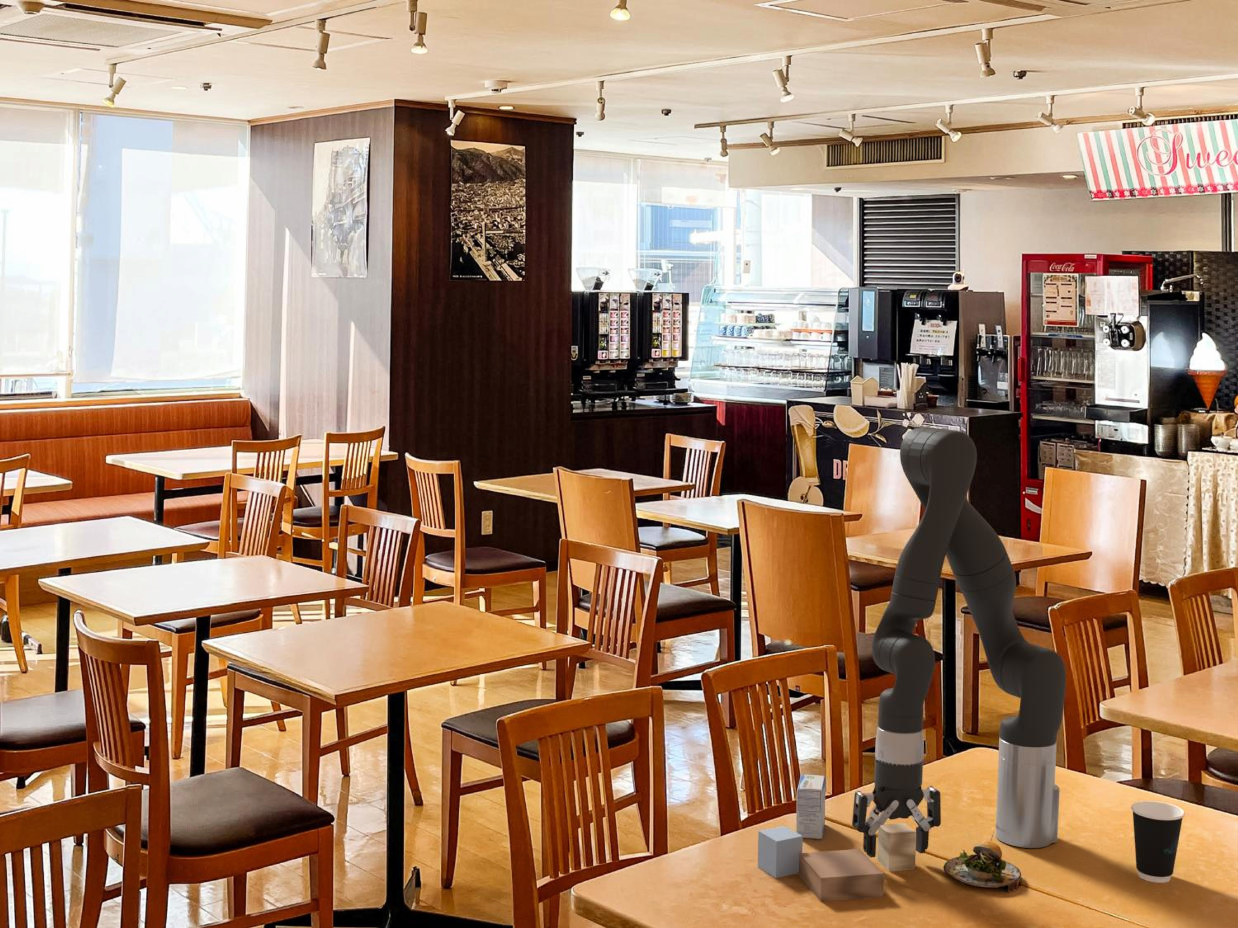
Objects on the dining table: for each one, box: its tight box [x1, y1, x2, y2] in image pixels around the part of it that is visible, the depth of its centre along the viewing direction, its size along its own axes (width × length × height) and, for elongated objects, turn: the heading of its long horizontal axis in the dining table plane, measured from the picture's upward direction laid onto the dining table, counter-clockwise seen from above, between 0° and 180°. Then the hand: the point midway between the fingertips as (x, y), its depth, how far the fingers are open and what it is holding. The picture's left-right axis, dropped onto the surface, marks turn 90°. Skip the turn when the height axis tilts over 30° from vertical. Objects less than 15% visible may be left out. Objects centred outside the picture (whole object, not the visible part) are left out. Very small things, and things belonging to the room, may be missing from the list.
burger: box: [943, 830, 1023, 893], centre depth 219 cm, size 12×12×8 cm
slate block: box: [757, 825, 804, 879], centre depth 222 cm, size 5×5×6 cm
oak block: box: [876, 822, 917, 872], centre depth 224 cm, size 4×4×6 cm
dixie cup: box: [1130, 800, 1186, 884], centre depth 220 cm, size 8×8×11 cm
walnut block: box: [798, 848, 885, 902], centre depth 216 cm, size 10×10×4 cm
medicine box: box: [795, 774, 826, 840], centre depth 238 cm, size 8×4×9 cm, turn 168°
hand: (895, 853), depth 224 cm, fingers open, 8 cm apart
